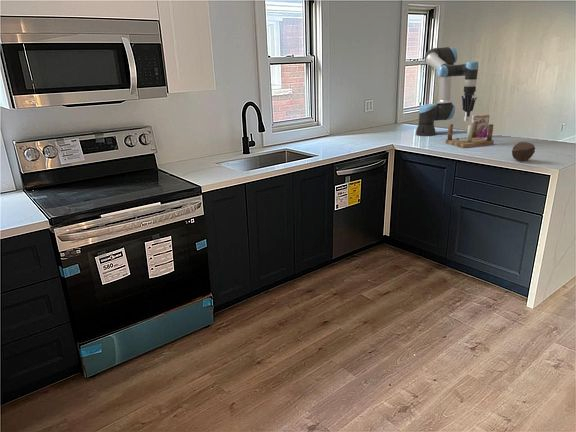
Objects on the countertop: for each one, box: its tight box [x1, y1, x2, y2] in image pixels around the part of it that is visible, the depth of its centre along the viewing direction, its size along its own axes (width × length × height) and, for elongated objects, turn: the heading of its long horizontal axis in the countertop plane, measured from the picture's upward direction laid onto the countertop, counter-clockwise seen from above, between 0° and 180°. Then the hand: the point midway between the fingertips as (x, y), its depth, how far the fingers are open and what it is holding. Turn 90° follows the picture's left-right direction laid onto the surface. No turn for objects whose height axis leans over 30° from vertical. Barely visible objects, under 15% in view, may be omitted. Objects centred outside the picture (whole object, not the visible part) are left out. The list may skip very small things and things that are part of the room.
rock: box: [511, 141, 536, 162], centre depth 244 cm, size 12×10×10 cm
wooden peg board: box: [444, 121, 494, 149], centre depth 293 cm, size 20×24×14 cm
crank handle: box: [454, 124, 473, 142], centre depth 289 cm, size 11×3×11 cm, turn 71°
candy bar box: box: [470, 114, 490, 138], centre depth 312 cm, size 11×5×16 cm, turn 84°
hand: (466, 121), depth 291 cm, fingers closed
